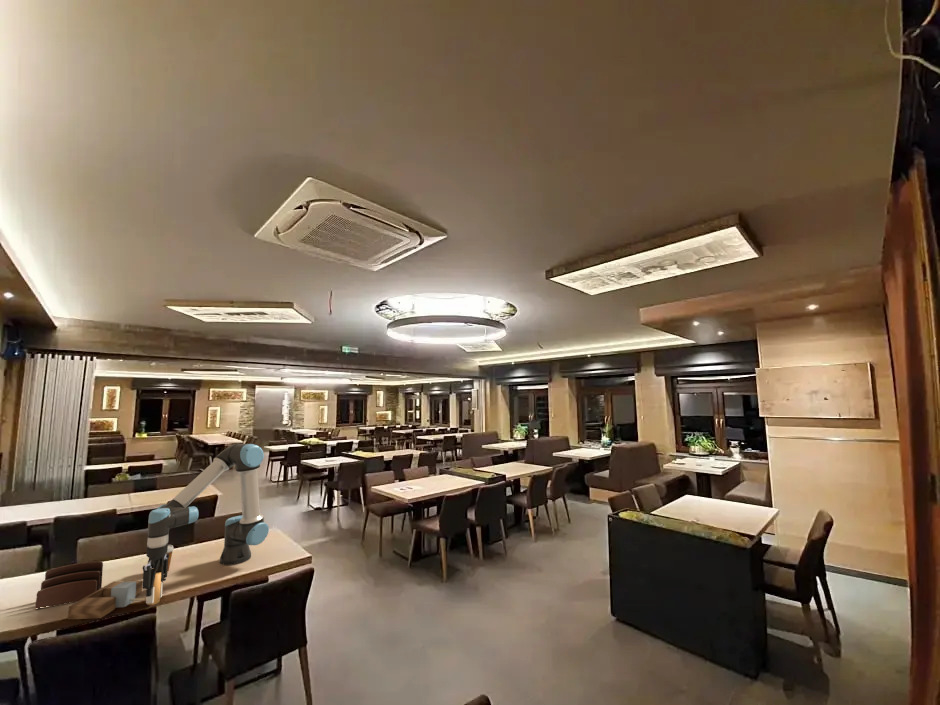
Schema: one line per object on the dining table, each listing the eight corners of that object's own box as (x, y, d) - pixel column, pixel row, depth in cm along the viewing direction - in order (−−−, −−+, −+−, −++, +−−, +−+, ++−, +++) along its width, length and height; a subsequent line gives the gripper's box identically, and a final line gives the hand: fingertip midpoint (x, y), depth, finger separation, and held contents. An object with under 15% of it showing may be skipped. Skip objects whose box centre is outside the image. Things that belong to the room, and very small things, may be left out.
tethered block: (163, 599, 183) (164, 571, 184) (153, 606, 177) (155, 577, 178) (121, 600, 182) (123, 572, 183) (110, 607, 176) (112, 578, 177)
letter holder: (43, 600, 183) (46, 568, 184) (101, 589, 193) (104, 558, 195) (34, 610, 174) (37, 576, 176) (96, 598, 185) (98, 565, 186)
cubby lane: (142, 591, 190) (142, 580, 190) (101, 618, 167) (102, 605, 168) (112, 592, 189) (113, 581, 190) (67, 619, 167) (68, 606, 167)
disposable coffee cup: (160, 576, 206) (161, 551, 207) (144, 575, 207) (146, 550, 209) (177, 568, 215) (178, 545, 216) (162, 567, 217) (163, 544, 218)
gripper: (162, 538, 190) (159, 590, 188) (133, 553, 173) (129, 610, 171) (179, 538, 191) (176, 590, 188) (151, 552, 173) (148, 610, 171)
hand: (154, 600), depth 180 cm, fingers closed on tethered block, 4 cm apart
